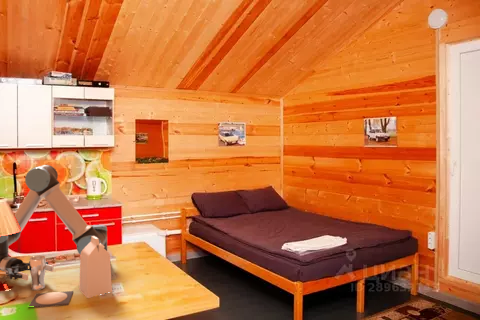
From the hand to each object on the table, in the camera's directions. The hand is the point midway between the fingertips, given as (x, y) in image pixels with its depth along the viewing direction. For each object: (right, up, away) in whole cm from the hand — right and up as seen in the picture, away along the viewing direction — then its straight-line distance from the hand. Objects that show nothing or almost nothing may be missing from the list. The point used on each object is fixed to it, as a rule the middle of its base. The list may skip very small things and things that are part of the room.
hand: (40, 272), depth 200 cm
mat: (+11, -9, -12) cm, 18 cm away
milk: (+26, -9, -1) cm, 28 cm away
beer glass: (-2, -8, +2) cm, 8 cm away
